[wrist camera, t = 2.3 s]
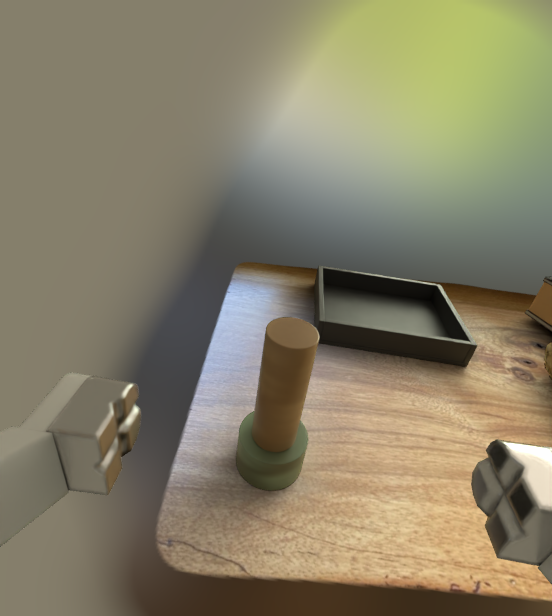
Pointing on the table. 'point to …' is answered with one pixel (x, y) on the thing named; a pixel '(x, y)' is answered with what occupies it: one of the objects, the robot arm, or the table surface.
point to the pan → (389, 317)
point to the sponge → (548, 359)
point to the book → (543, 305)
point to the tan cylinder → (278, 407)
